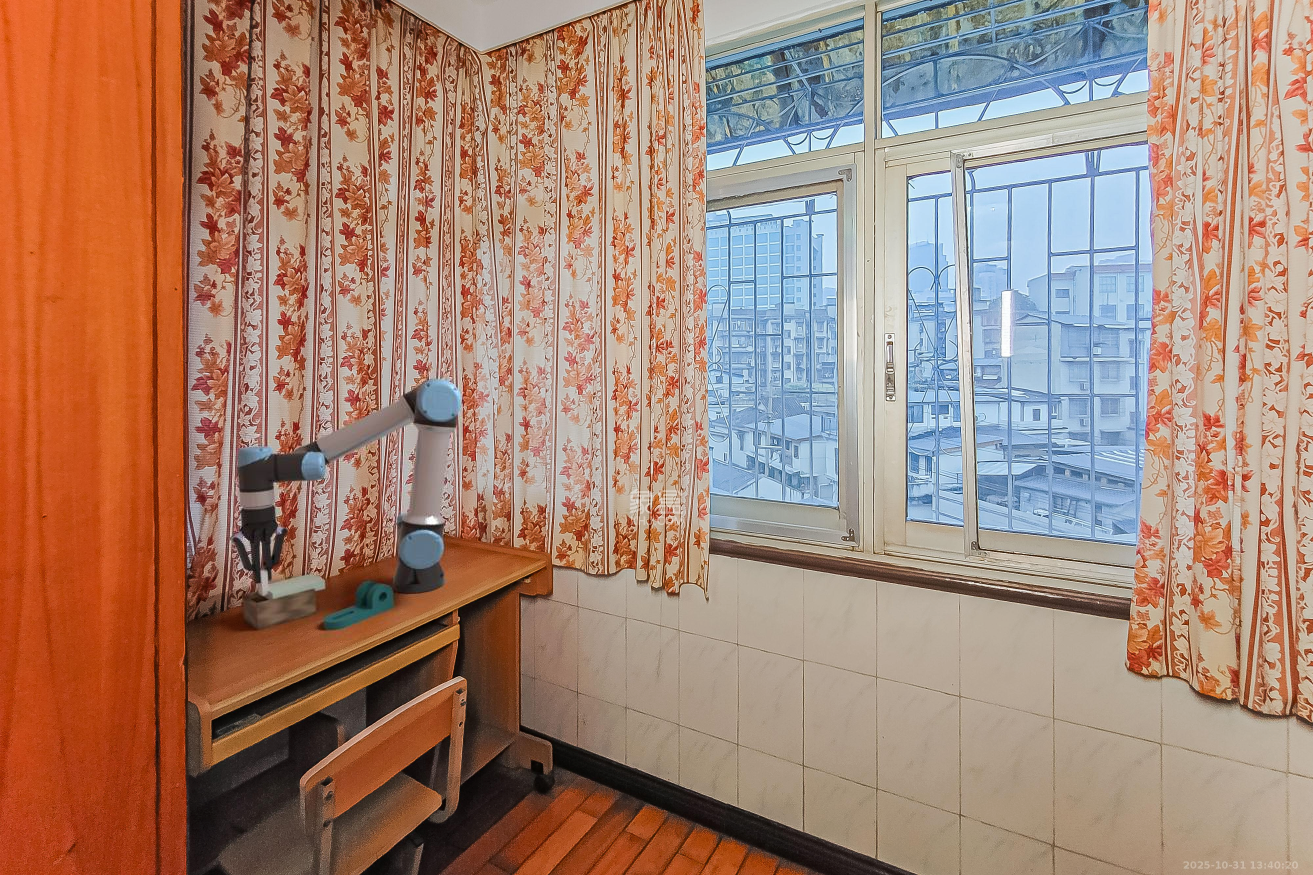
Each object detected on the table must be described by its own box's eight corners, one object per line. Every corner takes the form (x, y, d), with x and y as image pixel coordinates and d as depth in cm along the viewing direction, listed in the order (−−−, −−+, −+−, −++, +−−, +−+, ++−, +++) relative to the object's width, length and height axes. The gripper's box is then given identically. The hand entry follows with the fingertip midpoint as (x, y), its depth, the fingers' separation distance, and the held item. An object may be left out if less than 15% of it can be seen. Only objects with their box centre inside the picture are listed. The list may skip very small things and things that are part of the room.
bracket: (377, 604, 172) (375, 577, 171) (393, 608, 169) (392, 581, 168) (317, 627, 156) (316, 598, 155) (335, 632, 153) (333, 602, 152)
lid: (312, 582, 172) (311, 573, 171) (325, 588, 167) (324, 579, 166) (260, 594, 161) (260, 585, 161) (273, 602, 156) (272, 592, 156)
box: (300, 604, 170) (299, 580, 170) (316, 613, 164) (314, 588, 164) (243, 620, 159) (242, 594, 159) (258, 630, 153) (256, 603, 153)
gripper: (279, 500, 163) (284, 583, 165) (223, 508, 153) (229, 597, 155) (291, 503, 158) (296, 589, 161) (234, 512, 148) (240, 604, 151)
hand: (263, 593), depth 158 cm, fingers closed
